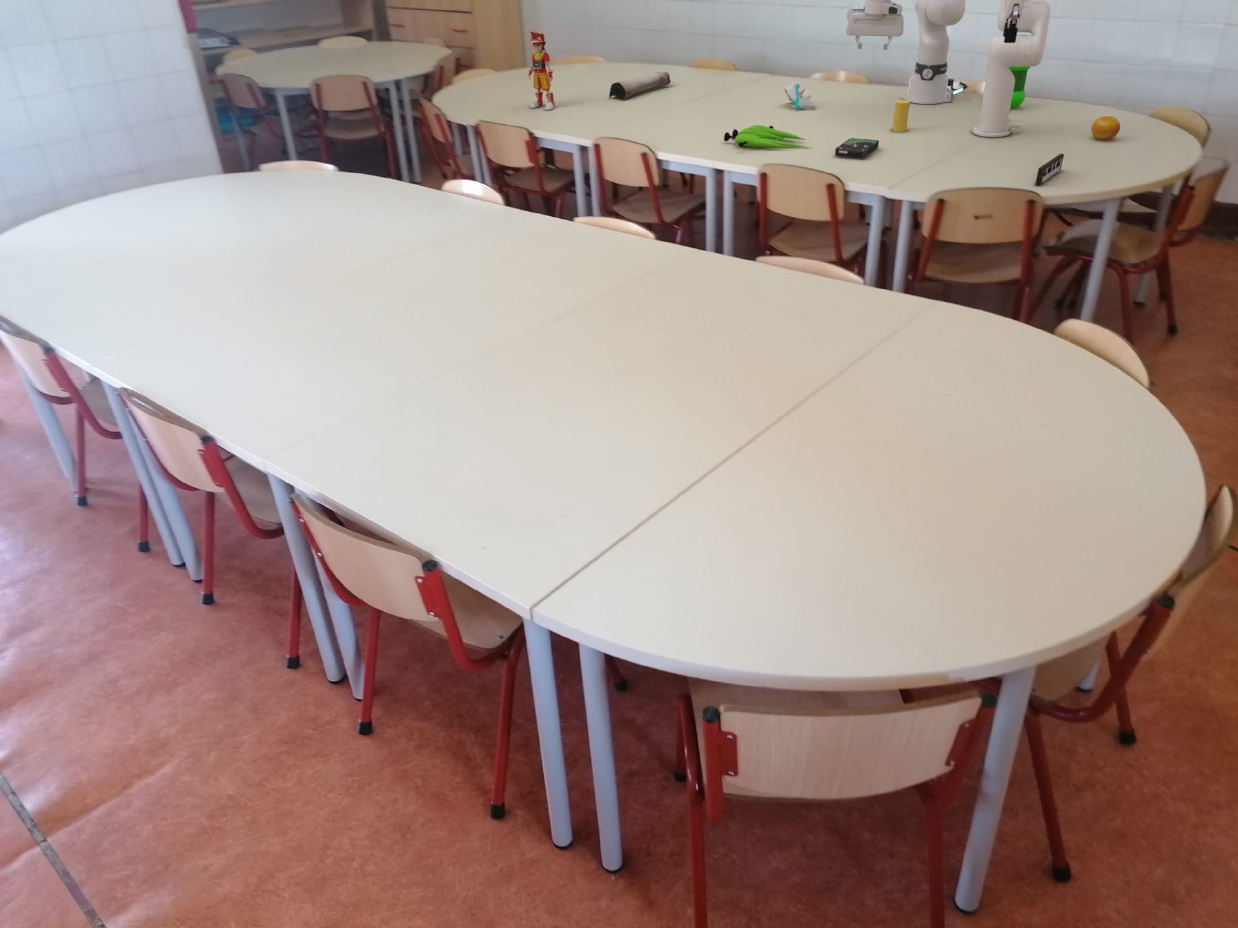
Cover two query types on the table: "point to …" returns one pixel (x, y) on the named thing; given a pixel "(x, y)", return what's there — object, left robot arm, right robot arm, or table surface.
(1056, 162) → the midi keyboard
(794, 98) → the anatomical model
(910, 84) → the left robot arm
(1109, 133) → the fruit
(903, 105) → the tin
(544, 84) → the toy
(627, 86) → the rolled mat
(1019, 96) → the green dumbbell
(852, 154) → the disk drive
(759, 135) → the toy
